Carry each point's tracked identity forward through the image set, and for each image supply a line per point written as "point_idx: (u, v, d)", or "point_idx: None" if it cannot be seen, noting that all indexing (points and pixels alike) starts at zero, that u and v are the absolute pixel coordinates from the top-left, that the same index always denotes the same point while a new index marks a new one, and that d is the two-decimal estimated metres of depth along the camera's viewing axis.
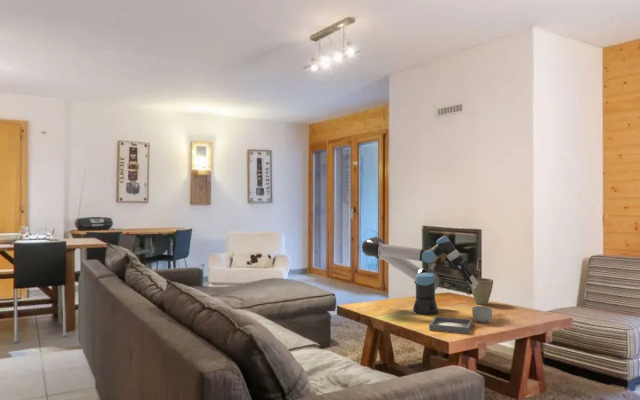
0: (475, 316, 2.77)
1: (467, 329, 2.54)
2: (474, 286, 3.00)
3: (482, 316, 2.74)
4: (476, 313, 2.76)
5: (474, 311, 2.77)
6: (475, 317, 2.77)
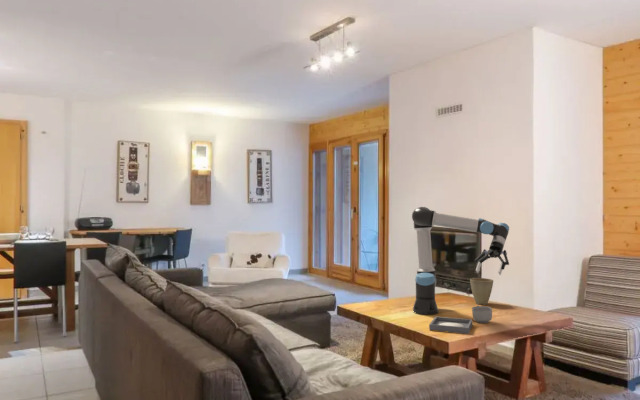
0: (475, 316, 2.77)
1: (467, 329, 2.54)
2: (500, 272, 2.85)
3: (482, 316, 2.74)
4: (476, 313, 2.76)
5: (474, 311, 2.77)
6: (475, 317, 2.77)
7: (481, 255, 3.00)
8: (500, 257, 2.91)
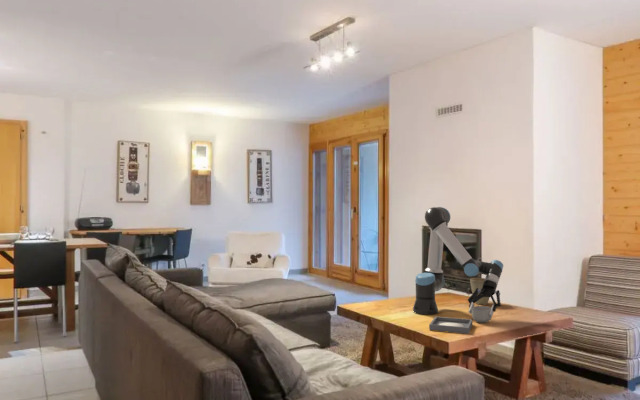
0: (474, 316, 2.77)
1: (467, 329, 2.54)
2: (492, 314, 2.75)
3: (481, 316, 2.75)
4: (475, 313, 2.76)
5: (473, 311, 2.78)
6: (474, 317, 2.77)
7: (474, 294, 2.89)
8: (492, 298, 2.81)
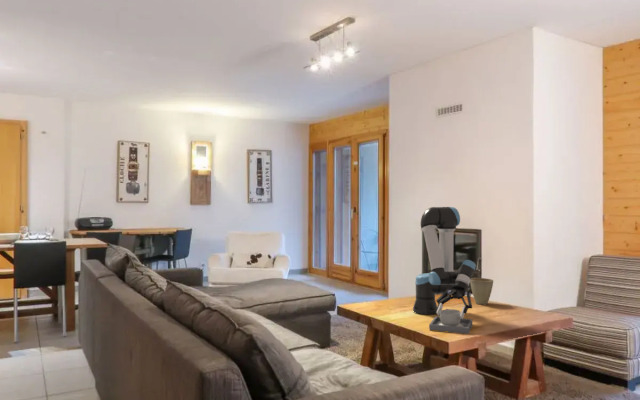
0: (442, 320, 2.64)
1: (467, 329, 2.54)
2: (462, 316, 2.61)
3: (449, 320, 2.61)
4: (443, 317, 2.63)
5: (441, 315, 2.64)
6: (442, 321, 2.64)
7: (443, 295, 2.75)
8: (463, 299, 2.67)
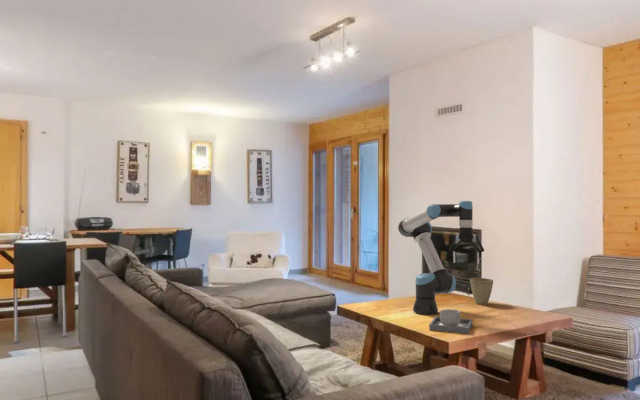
0: (442, 320, 2.64)
1: (467, 329, 2.54)
2: None
3: (449, 320, 2.61)
4: (443, 317, 2.63)
5: (441, 314, 2.64)
6: (442, 321, 2.64)
7: (453, 243, 2.93)
8: (474, 245, 2.88)
